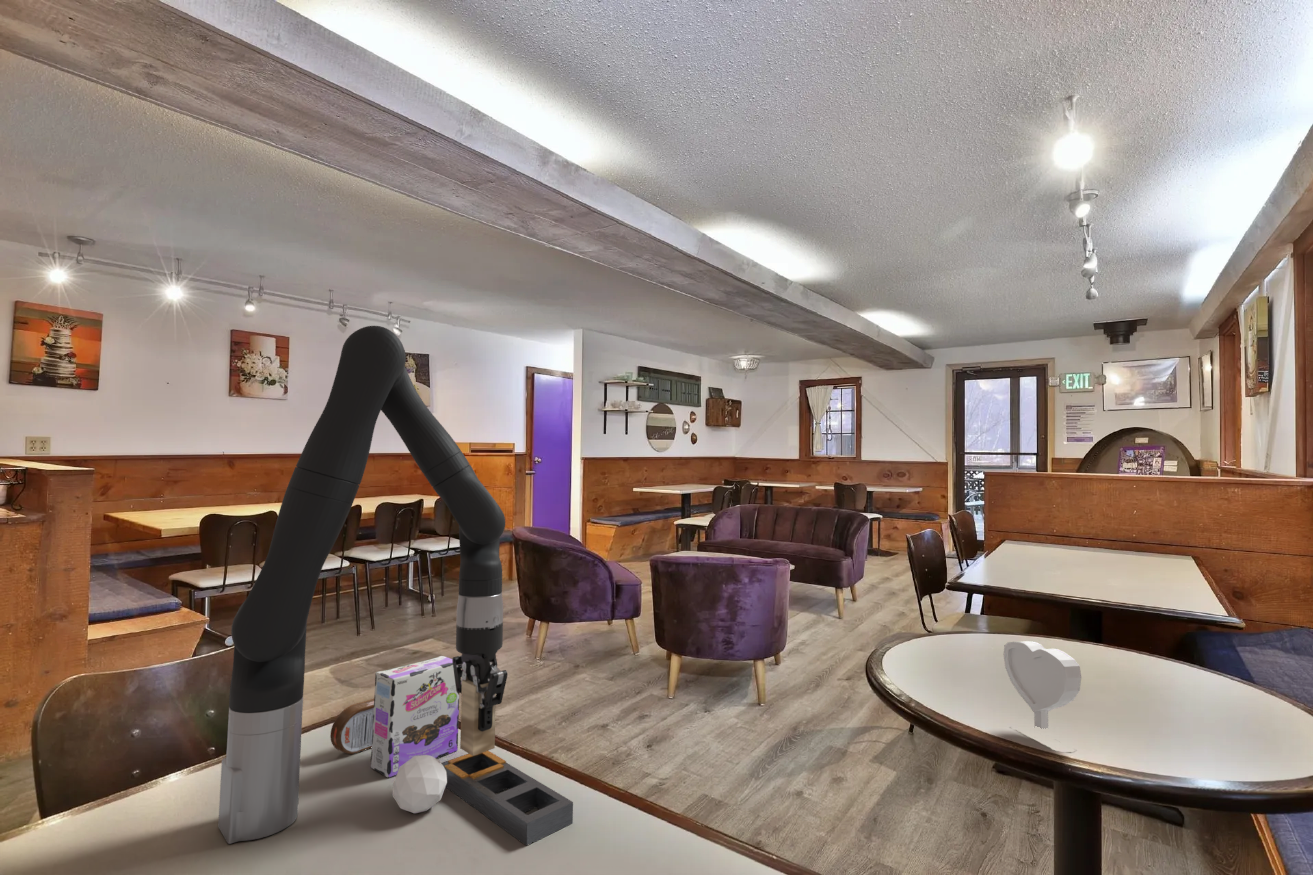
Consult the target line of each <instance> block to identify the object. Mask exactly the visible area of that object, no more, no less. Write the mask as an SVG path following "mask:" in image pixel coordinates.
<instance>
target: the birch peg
mask: <svg viewBox="0 0 1313 875" xmlns="http://www.w3.org/2000/svg"><path fill="white" fill-rule="evenodd" d="M488 684H489V683H486V684H483V685H480V686H481V687H486V686H488ZM486 693H487V692H484V699H485V698H486ZM495 697H496V694H495ZM460 701H461V704H460V737H459V738H460V741H459V742H460V743H459V746H460V747H459V748H460V749H461V750H462V751H464V752H465V753H466V754H470V755H472V756H474V755H477V754H480V753H483V752H486V751H492V750H494V749H496V744H495V743H496V740H495V739H496V705H494V706H493V716H492V727H491V729H488V730H485V731H480V730H478V711H479V708H480V707H479V703H478V694H477V693H476V686H475V685H474V683H473V682H472V681H470V680H468V681H464V680H462V694H461V700H460Z"/></svg>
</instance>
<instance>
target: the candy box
mask: <svg viewBox="0 0 1313 875" xmlns="http://www.w3.org/2000/svg"><path fill="white" fill-rule="evenodd" d="M452 659H453V657H452V658H451V657H448V656H444V655H439V656H437V657H434V658H431V659H427V660H422V661H418V662H414V663H410V664H406V665H402V666H398V667H394V668H390V669H387V670H379V671H375V674H374V675H375V677H374V678H375V679H374V698H373V699H374V715H373V733H372V734H373V735H372V748H371V753H370V755H371V756H370V769H373V771H376V772H377V773H379V774H381V775H383V777H386V778H388V777H389V778H392V777H394V776H396V775H397V773H398V770H399V768H400V766H402V765H403V764H404V763H406V762H407V761H408V760H410V759H411V758H412V757H414V756H419V755H429V756H432V757H434V758H436V759H439V758H442V757H445V756H447V755H450V754H452V753H454V752H457V751H458V748H459V747H458V746H459V745H458V744H459V718H460V717H459V716H460V715H459V714H460V712H459V710H460V693H457V691H456V684H455V677H454V669H453V662H452Z"/></svg>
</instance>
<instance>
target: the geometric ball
mask: <svg viewBox="0 0 1313 875" xmlns="http://www.w3.org/2000/svg"><path fill="white" fill-rule="evenodd" d="M441 763H442V762H441V761H440V759H439V758H437V759H436V758H434V757H432V756H429V755H419V756H414V757H412V758H411V759H410V760H408V761H407V762H406V763H404V764H403V765H402V766H400V768H399V770H398V773H397V775H395V778H394V780H393V784H392V797H393V798H394V800H395V802H396V803H397V805H398V807H399V808H400V809H401V810H404V811H407V812H410V813H413V814H418V813H419V814H420V813H423V812H427V811H428V810H429V809H431V808H432V807H434V806H435V805H436V804H437V803H439V802H440V801H441V800H442V797H443V794H444V791H445V789H446V784H447V773H446V770H445V768H444V766H443V765H442V764H441Z"/></svg>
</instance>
